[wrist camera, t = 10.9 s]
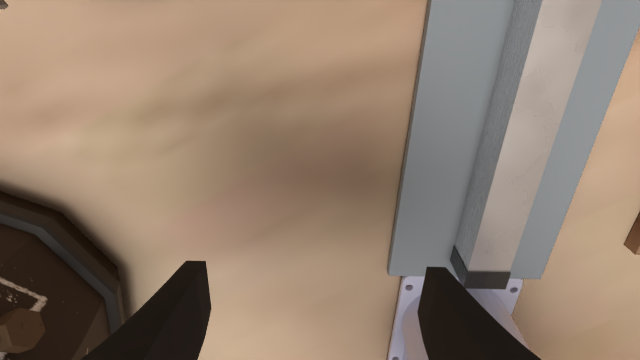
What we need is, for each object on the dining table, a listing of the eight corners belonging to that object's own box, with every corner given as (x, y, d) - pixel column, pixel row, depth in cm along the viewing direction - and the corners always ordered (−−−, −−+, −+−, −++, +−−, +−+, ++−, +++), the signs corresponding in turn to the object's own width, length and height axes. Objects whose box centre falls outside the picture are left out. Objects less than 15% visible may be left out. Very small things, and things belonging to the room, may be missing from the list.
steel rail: (488, 261, 25) (505, 289, 23) (449, 260, 25) (462, 288, 23) (642, -245, 14) (703, -285, 12) (575, -250, 14) (623, -291, 12)
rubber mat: (535, 272, 26) (540, 279, 26) (387, 269, 26) (388, 275, 25) (749, -287, 14) (766, -297, 14) (474, -305, 14) (481, -316, 13)
